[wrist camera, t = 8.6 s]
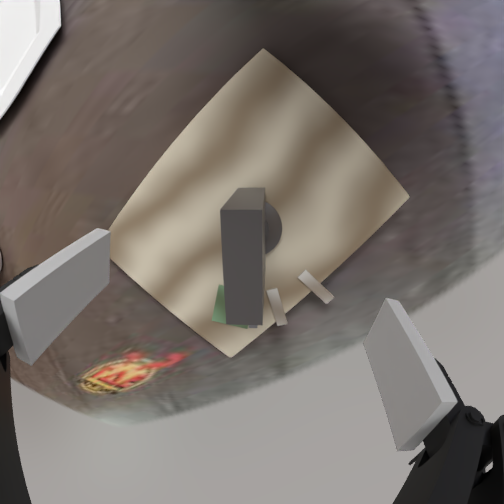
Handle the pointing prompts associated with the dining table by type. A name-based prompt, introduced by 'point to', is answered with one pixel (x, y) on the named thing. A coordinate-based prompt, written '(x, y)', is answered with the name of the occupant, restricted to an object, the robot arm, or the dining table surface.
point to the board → (276, 201)
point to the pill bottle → (0, 262)
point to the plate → (23, 42)
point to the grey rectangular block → (244, 256)
